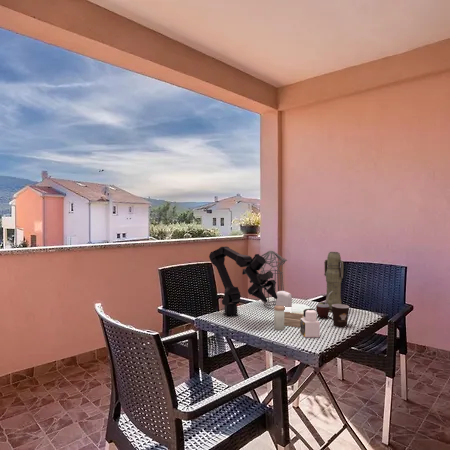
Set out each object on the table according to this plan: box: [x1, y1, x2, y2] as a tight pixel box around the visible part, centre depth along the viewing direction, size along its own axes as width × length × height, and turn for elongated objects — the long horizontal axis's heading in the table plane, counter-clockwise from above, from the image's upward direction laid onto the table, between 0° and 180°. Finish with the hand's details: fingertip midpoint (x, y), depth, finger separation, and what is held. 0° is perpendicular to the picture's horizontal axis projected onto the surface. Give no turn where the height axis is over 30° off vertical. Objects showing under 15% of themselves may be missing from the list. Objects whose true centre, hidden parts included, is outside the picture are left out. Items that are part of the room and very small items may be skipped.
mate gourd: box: [315, 291, 333, 320], centre depth 199 cm, size 8×8×15 cm
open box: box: [284, 312, 303, 328], centre depth 188 cm, size 13×13×4 cm
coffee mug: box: [325, 303, 350, 328], centre depth 185 cm, size 12×9×10 cm
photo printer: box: [275, 290, 293, 308], centre depth 209 cm, size 10×4×12 cm, turn 39°
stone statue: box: [323, 251, 345, 314], centre depth 213 cm, size 9×12×35 cm
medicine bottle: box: [299, 308, 321, 338], centre depth 168 cm, size 7×7×12 cm
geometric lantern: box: [259, 250, 288, 309], centre depth 222 cm, size 16×16×35 cm
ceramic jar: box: [273, 305, 285, 331], centre depth 178 cm, size 5×5×11 cm
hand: (271, 300), depth 181 cm, fingers open, 9 cm apart
